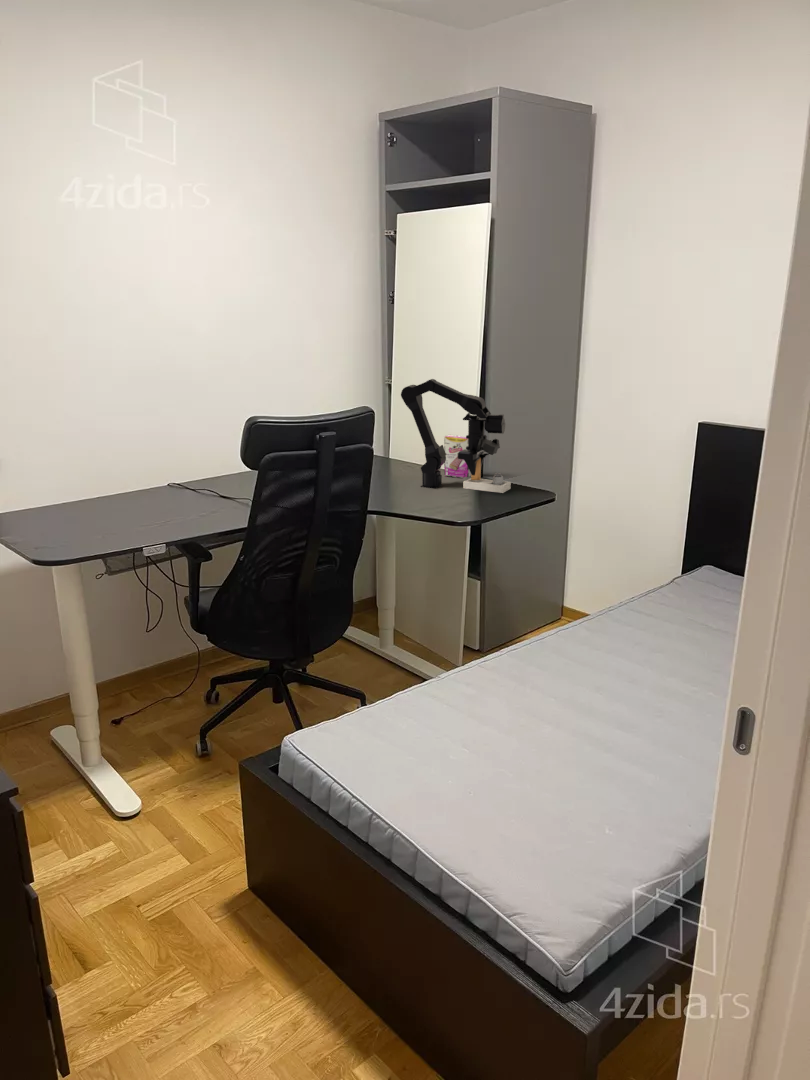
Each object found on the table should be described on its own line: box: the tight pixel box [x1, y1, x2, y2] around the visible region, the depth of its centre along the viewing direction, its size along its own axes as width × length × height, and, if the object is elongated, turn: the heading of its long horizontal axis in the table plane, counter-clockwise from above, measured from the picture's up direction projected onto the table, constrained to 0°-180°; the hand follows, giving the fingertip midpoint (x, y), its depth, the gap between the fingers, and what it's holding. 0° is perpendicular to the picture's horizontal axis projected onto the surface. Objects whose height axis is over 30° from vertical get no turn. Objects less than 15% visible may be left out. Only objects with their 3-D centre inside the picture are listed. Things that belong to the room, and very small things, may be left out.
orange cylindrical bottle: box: [470, 454, 482, 480], centre depth 291 cm, size 4×4×9 cm
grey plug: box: [492, 472, 504, 485], centre depth 288 cm, size 4×4×6 cm
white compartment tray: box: [462, 477, 512, 494], centre depth 291 cm, size 16×7×4 cm, turn 59°
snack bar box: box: [443, 434, 471, 479], centre depth 311 cm, size 11×5×16 cm, turn 58°
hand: (475, 474), depth 292 cm, fingers closed on orange cylindrical bottle, 4 cm apart
